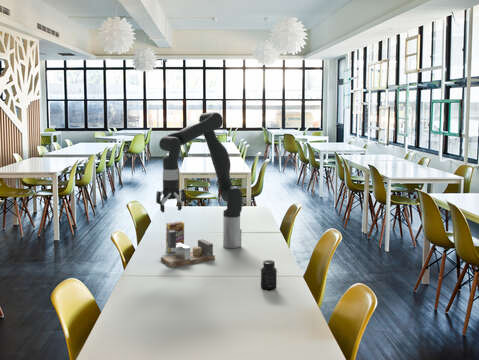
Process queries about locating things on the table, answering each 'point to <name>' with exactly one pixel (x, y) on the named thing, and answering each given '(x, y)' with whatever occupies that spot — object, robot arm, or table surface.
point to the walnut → (196, 251)
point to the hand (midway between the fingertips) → (171, 211)
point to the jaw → (178, 246)
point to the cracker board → (191, 256)
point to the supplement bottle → (268, 276)
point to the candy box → (179, 233)
